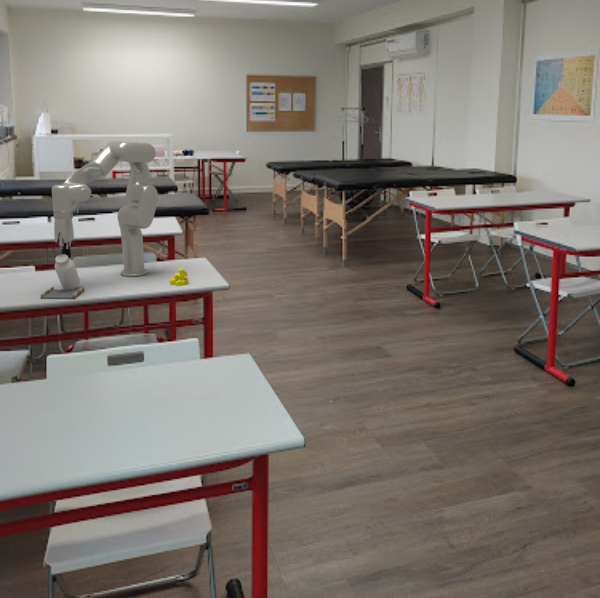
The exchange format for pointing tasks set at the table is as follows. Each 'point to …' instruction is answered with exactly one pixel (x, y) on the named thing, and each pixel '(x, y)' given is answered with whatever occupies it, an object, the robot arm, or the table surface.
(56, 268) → the pill bottle
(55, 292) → the grey tray
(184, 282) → the yellow lumpy pyramid
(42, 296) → the rails
